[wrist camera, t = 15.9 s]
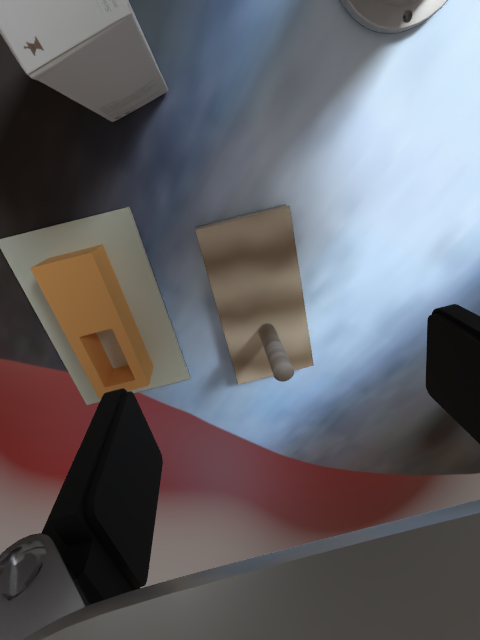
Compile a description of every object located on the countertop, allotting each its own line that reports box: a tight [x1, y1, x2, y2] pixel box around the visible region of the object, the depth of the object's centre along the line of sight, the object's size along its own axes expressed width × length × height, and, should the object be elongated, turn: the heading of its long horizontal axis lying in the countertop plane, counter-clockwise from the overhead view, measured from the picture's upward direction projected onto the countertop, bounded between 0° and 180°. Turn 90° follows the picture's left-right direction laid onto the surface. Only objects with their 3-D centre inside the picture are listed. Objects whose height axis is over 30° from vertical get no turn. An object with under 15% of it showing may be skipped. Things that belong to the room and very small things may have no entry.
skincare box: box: [0, 0, 168, 122], centre depth 21 cm, size 8×7×16 cm
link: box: [30, 244, 154, 398], centre depth 36 cm, size 16×6×4 cm, turn 13°
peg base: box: [195, 205, 313, 384], centre depth 34 cm, size 20×10×11 cm, turn 13°
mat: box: [0, 207, 190, 405], centre depth 38 cm, size 22×14×1 cm, turn 13°
